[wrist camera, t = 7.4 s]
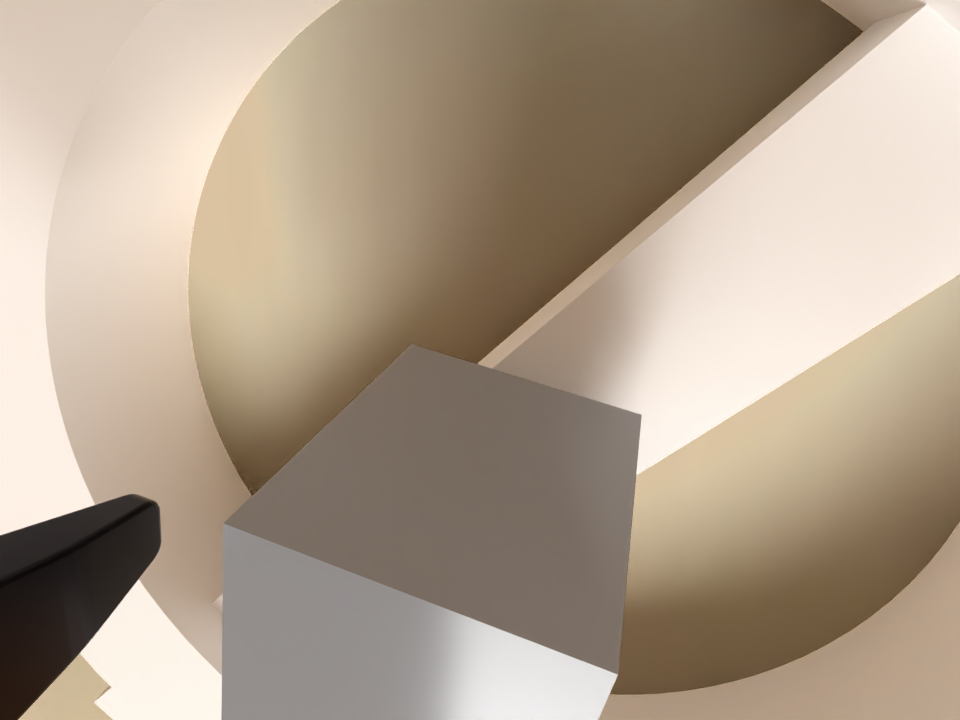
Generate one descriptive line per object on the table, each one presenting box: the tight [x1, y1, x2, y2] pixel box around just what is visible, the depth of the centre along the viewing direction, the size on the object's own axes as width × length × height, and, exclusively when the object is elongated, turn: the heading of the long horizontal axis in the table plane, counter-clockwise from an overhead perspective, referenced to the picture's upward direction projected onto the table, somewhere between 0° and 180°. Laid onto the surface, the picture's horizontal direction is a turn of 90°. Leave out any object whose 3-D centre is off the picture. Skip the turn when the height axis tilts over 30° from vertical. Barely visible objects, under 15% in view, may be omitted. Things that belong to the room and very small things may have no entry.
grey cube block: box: [221, 344, 642, 720], centre depth 9 cm, size 5×4×5 cm
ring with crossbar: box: [0, 0, 960, 720], centre depth 13 cm, size 28×28×5 cm
